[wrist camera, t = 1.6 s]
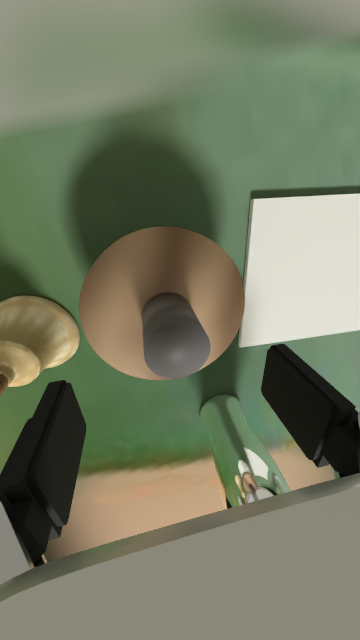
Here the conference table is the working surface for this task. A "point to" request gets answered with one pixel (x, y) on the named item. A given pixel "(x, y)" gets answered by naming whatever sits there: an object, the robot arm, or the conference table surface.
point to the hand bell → (33, 338)
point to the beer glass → (239, 455)
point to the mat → (301, 268)
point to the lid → (162, 303)
